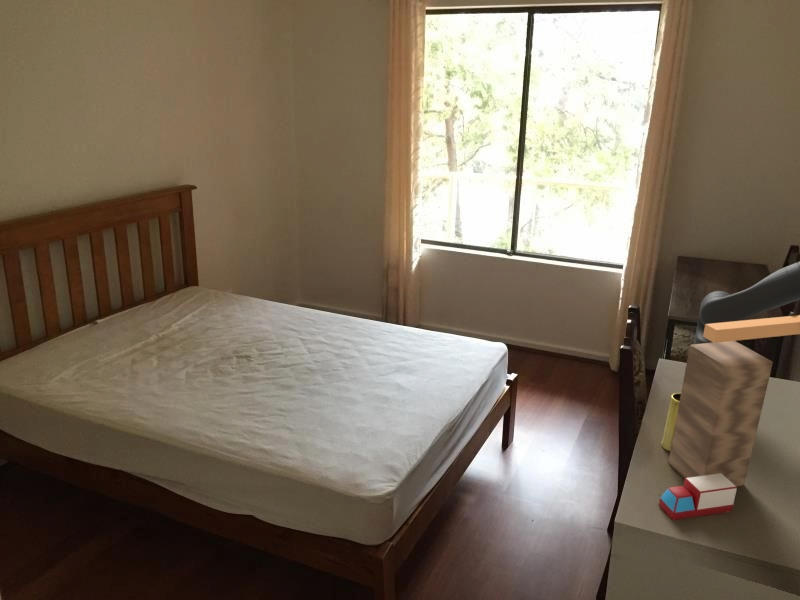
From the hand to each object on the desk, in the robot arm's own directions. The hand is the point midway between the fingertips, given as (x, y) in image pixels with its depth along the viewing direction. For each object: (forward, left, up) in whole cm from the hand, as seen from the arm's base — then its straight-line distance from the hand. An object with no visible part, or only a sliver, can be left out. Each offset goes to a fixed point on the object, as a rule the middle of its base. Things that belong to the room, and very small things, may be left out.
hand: (796, 319), depth 150 cm
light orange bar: (-2, -9, -3) cm, 9 cm away
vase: (-15, -14, -39) cm, 44 cm away
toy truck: (+6, -29, -39) cm, 49 cm away
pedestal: (-3, -16, -39) cm, 42 cm away
